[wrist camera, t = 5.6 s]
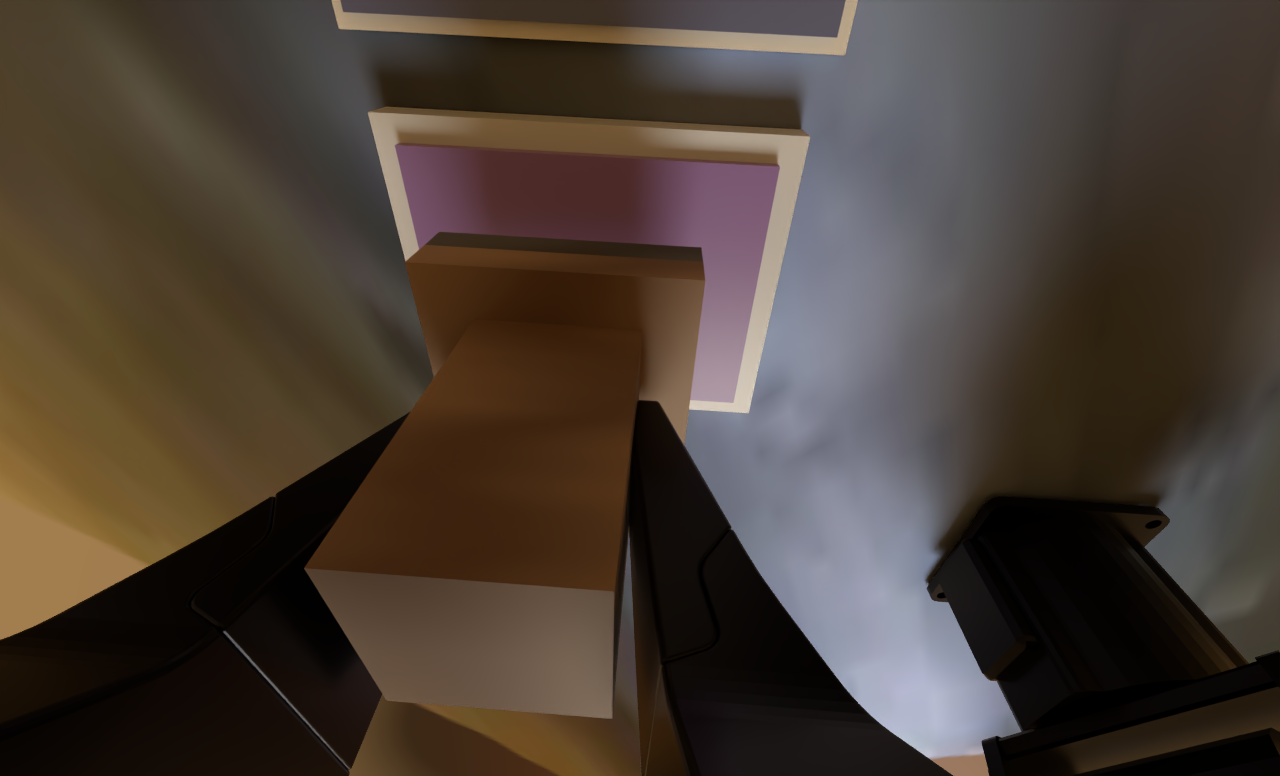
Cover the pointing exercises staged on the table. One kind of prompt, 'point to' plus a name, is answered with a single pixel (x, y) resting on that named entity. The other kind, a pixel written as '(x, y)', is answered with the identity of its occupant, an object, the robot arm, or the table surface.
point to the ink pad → (613, 204)
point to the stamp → (514, 472)
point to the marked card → (620, 21)
